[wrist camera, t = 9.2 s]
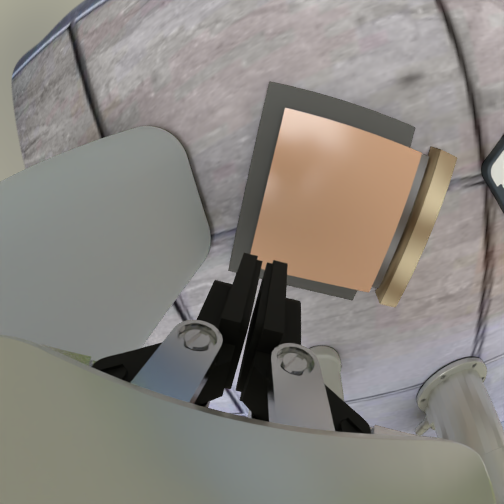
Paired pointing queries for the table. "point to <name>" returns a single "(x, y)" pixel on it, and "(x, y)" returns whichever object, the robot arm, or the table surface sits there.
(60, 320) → the plastic bottle
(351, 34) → the table surface
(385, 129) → the rubber mat
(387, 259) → the tile stand
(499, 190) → the phone case
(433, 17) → the table surface
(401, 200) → the tile
